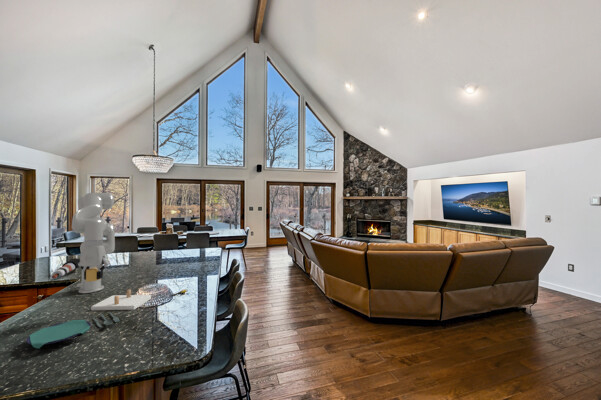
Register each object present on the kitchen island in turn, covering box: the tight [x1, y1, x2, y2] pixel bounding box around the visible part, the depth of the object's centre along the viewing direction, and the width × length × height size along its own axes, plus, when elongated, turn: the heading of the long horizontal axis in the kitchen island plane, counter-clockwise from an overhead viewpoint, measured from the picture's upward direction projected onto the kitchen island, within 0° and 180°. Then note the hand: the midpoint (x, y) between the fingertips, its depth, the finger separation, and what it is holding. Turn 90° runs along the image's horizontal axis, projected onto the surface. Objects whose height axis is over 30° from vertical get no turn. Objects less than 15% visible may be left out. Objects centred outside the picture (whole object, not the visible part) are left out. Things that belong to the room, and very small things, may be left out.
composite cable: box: [170, 288, 189, 298], centre depth 156 cm, size 10×5×2 cm, turn 133°
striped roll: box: [51, 258, 81, 279], centre depth 199 cm, size 10×34×10 cm
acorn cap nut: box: [86, 268, 100, 282], centre depth 130 cm, size 6×6×6 cm
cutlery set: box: [25, 311, 121, 350], centre depth 112 cm, size 20×30×2 cm, turn 140°
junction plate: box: [90, 289, 152, 311], centre depth 141 cm, size 22×16×6 cm
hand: (93, 278), depth 130 cm, fingers closed on acorn cap nut, 5 cm apart
